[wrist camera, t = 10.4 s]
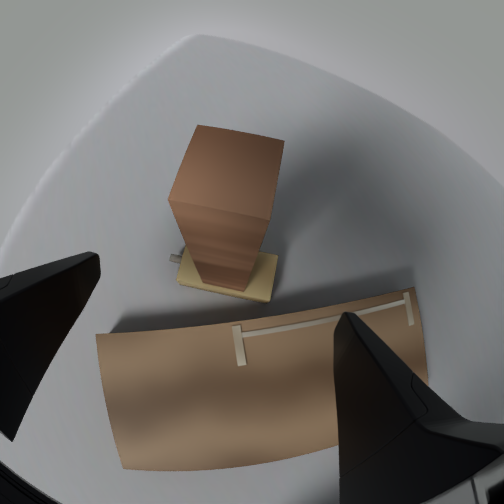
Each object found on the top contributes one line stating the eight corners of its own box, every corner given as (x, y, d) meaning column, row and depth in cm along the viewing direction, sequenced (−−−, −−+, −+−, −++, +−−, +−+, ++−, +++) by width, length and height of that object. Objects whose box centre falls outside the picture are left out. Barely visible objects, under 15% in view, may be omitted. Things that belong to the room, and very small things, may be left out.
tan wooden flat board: (414, 402, 17) (430, 406, 15) (131, 458, 14) (122, 469, 12) (399, 291, 20) (415, 286, 18) (107, 334, 17) (94, 333, 15)
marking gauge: (266, 303, 19) (335, 243, 7) (167, 281, 18) (83, 191, 7) (274, 261, 20) (340, 150, 8) (178, 240, 19) (124, 113, 8)
